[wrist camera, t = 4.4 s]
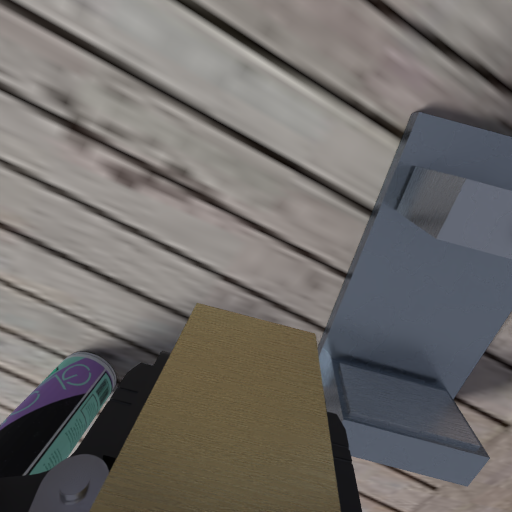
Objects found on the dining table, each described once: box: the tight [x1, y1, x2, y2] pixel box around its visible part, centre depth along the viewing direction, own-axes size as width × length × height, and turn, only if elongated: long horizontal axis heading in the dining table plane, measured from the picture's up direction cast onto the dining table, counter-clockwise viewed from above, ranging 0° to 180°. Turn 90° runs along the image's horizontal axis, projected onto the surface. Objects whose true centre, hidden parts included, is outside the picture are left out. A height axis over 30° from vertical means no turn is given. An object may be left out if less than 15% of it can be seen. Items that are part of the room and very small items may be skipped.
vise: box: [317, 112, 512, 486], centre depth 21 cm, size 22×12×7 cm, turn 166°
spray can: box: [0, 352, 116, 478], centre depth 21 cm, size 6×6×20 cm
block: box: [89, 303, 341, 512], centre depth 8 cm, size 5×4×7 cm
